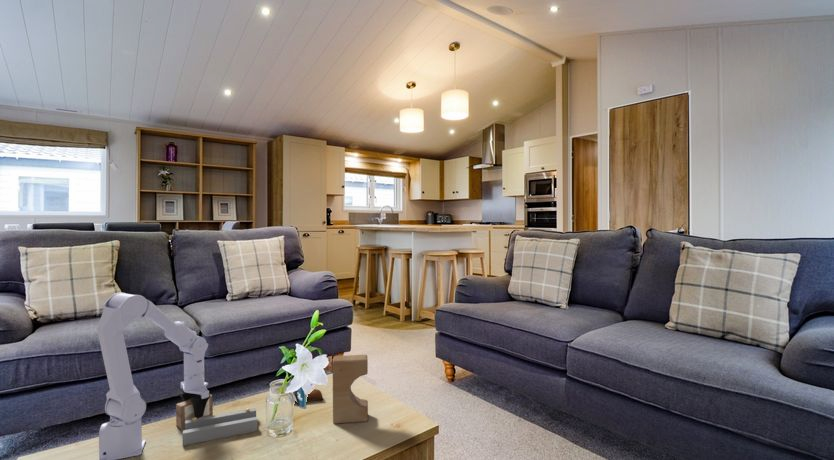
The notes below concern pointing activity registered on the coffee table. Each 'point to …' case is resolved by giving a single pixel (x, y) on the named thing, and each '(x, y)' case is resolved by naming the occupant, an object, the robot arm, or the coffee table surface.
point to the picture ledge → (219, 426)
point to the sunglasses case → (315, 395)
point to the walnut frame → (191, 411)
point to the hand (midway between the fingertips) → (194, 414)
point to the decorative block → (348, 389)
